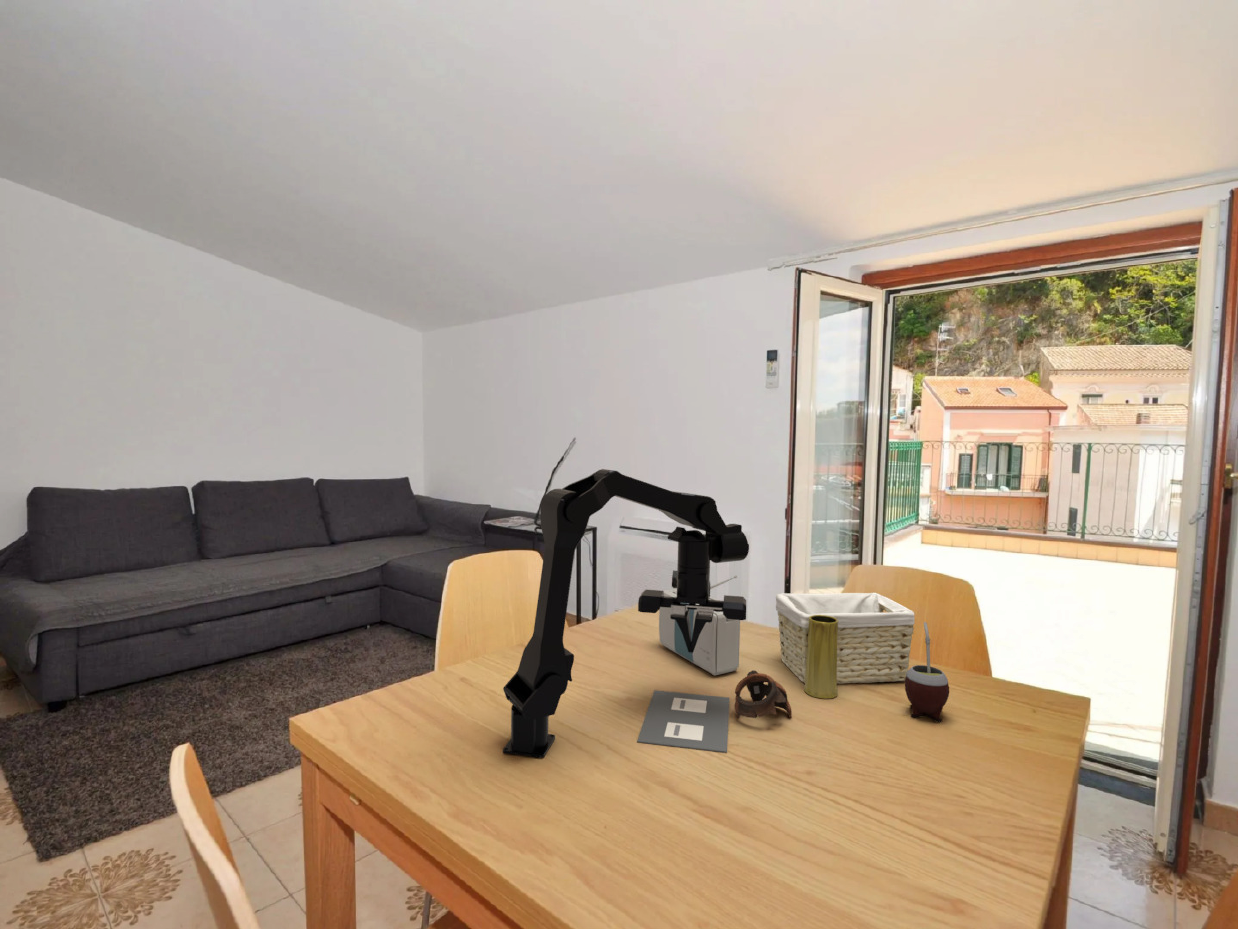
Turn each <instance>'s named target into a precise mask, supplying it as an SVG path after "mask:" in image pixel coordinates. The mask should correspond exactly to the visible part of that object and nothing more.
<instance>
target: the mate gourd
mask: <svg viewBox="0 0 1238 929" xmlns="http://www.w3.org/2000/svg"><path fill="white" fill-rule="evenodd" d="M923 627H924V632H925V638H924V640H925V643H924V644H926V645H925V646H926V649H925V650H926V665H922V664H920V665H919V664H918V665H913V666H912V667H910V668H908V672H907V673H906V678H905V681H904V689H905V690H904V691H905V694H906V697H907V700H908V701H909V703H910V704H909V709H911V711H912V713H910V717H911V718H913V719H917V718H919V719H920V718H923V717H926V718H928V719H930V720H932V721H933V722H936V723H938V724H939V723H942V718H941V715H942V712H943V709H944V706H945V705H946V704H947V702H948V699H949V696H950V686H949V679H948V678H947V675H946V674H945V673H944V671H942V670H941V669H940V668H937V667H935V666H934V667H933V666H931V650H930V647H931V645H930V644H931V638H930V635H929V628H928V623H927V622H926V621H925V622H923Z"/></svg>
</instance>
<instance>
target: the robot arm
mask: <svg viewBox="0 0 1238 929" xmlns="http://www.w3.org/2000/svg"><path fill="white" fill-rule="evenodd" d="M542 496H543V497H542V498H541V501H540V504H539V505H540V506H539V514H540V515H539V516H540V518H539V519H540V528H541V533H542V538H543V540H544V552H543V558H542V559H543V560H542V567H541V574H540V581H539V582H540V583H539V588H538V595H537V596H538V598H537V603H536V610H535V618H534V624H533V625H534V626H533V631H532V632H533V633H532V636H531V638H530V640H529V641H528V642H527V644H526V646H525V647H524V648H523V652H522V656H521V659H520V662H519V664H518V670H517V671H516V672H515V673H514V674H513V676H512V677H511V678H510V679H509V680H508V681H507V683H506V684H505V685H504V686H503V689H502V690H503V692H504V695H505V698H506V700H507V701H508V702H510V703H511V704H512V705H511V709H510V710H511V712H510V720H511V721H510V723H511V724H510V739H509V740H508V742H507V743H506V744H505V745H504V747H503V748H502V753H503V754H508V755H517V756H523V757H533V758H541V759H542V758H544V757H545V756H546V755H547V753H548V751H549V750H550V748H551V746H552V744H553V743H554V741H555V740H556V735H555V734H551V733H549V718H550V717H549V716H554V715H555V714H556V712H557V708H558V705H559V702H560V699H561V696H562V695H564V694H565V692H566V691H567V689H568V684H569V682H572V681H573V677H572V670H573V669H572V668H573V665H574V661H575V654H574V653H572V652H571V651H570V650H568V649H567V648H566V647H565V645H564V634H565V626H566V618H567V611H568V604H569V596H570V590H571V589H570V588H571V582H572V575H573V574H572V573H573V566H574V557H575V554H576V553H575V552H576V549H577V547H578V546H579V544H580V542H581V541H582V539H583V538H584V536H585V534H586V530H587V527H588V524H589V522H590V521H589V520H590V517H591V516H593V515H594V514H596V513H598V512H599V511H600V510H602V509H603V508H604V507H605V505H606V504H607V503H608V502H609V501H611V499H612V498H614V497H616V498H619V499H622V500H626V501H629V502H632V503H636V504H638V505H641V506H645V507H647V508H651V509H653V510H656V511H659V512H661V513H662V514H664V515H665V516H667V517H668V518H669V519H671V520H672V521H674V522H676V523H678V524H680V525H683V526H688V527H691V528H692V530H691V529H690V530H687V529H686V528H685V527H682V526H676V527H675V529H674V530H673V531H671V533H669V534H668V535H667V538H666V539H668V540H669V541H673V542H676V543H677V568H676V569H677V570H672V575H671V576H672V577H671V588H673V589H677V597H665V596H664V591H665V590H657V589H655V590H654V589H645V590H643V591H642V592H641V593H640V596H639V597H638V600H637V602H638V603H637V605H638V606H637V607H638V608H637V611H638V613H639V612H640V613H647V614H648V613H649V614H656V613H657V612H658V611H659V609H660V607H667V608H671V615H670V619H674V620H676V622H677V624H678V626H679V628H680V630H681V632H682V634H683V637H684V640H685V643H686V646H687V649H688V652H689V653H693V652H694V649H695V646H696V643H697V640H698V638H699V635H700V633H701V631H702V629H703V627H704V626H705V624H706V622H712V620H713V613H714V611H718V612H723V615H724V616H725V617H726V618H727V619H732V620H740V621H746V620H747V599H746V598H745V597H744V596H739V595H727V594H725V595H723V600H720V599H718V600H709V598H710V597H711V589H710V587H711V581H710V580H711V579H710V576H711V574H710V572H711V562H712V563H714V564H720V563H730V562H740V561H744V560H745V559H746V558H747V556H748V555H749V552H750V545H749V542H748V538H747V536H746V535H745V533H744V532H743V529H742V528H743V526H742V524H739V523H729V524H726V523H725V521H724V519H723V518H722V516H721V514H720V513H719V511H718V506H717V504H716V500H715V499H714V498H712V497H710V496H707V495H701V494H696V493H695V494H694V493H689V492H681V491H672V490H668V489H666V488H664V487H663V488H662V487H660V486H657V485H655V484H652V483H648V482H645V481H644V480H640V479H637V478H634V477H632V476H628V475H626V474H625V475H624V474H622V473H621V472H619V471H618V470H611V469H604V468H601V469H598V470H597V471H595V472H593V473H592V474H590V475H589V476H586V477H584V478H581V479H579V480H576V481H575V482H571V483H570V484H568V485H566V486H564V487H563V488H554V489H550V490H549V491H548V492H547V493H546V494H544V495H542ZM701 531H705V532H704V534H703V533H702V532H701ZM719 600H720V601H719ZM681 603H689V604H681ZM696 604H699V605H696ZM689 609H693V610H697V614H696V617H695V623H694V629H693V635H692V641H691V630H690V614H689Z"/></svg>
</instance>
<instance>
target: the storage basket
mask: <svg viewBox="0 0 1238 929" xmlns="http://www.w3.org/2000/svg"><path fill="white" fill-rule="evenodd" d="M775 603H776V604H775V610H776V611H777V616H778V630H779V631H778V632H779V642H780V643H779V645H780V658H781V662H783V664H785V666H786V667H787V668H788V669H789V670H790V671H791V673H793V674H794V675H795V676H796V677H797V678H798V679H799V681H801V683H804V684H805V672H806V661H807V649H808V632H809V617H810V616H813V615H827V616H831V617H834V618H836V619H837V620H838V638H837V685H839V684H841V685H842V684H843V685H844V684H851V683H852V684H856V683H862V684H863V683H865V684H870V683H871V684H873V683H878V682H879V683H885V682H893V683H894V682H905V678H906V673H907V672H908V670H909V666H910V665H909V663H910V654H911V647H912V640H913V636H912V635H913V634H914V625H915V622H916V621H915V620H916V619H915V615H916V614H915V612H914V611H913V610H912V609H909V608H908V607H906V606H904V605H902V604H900V603H898V602H896V601H894V600H892V599H891V598H889V597H886V596H885V595H882V594H879V593H877V592H867V593H866V592H838V593H836V592H834V593H830V592H829V593H828V592H827V593H787V592H785V593H783V592H782V593H778V594H776V597H775ZM884 611H885V612H884Z"/></svg>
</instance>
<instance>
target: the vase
mask: <svg viewBox="0 0 1238 929" xmlns="http://www.w3.org/2000/svg"><path fill="white" fill-rule="evenodd" d="M837 638H838V620H837V619H836V618H834V617H831V616H827V615H813V616H810V617H809V632H808V649H807V661H806V672H805V683H804V687H803V691H804V692H805V693H806V694H807V695H809V697H810V696H811V697H813V698H816V699H821V700H822V699H823V700H824V699H825V700H827V699H834V698H836V697H837V696H838V687H837V686H838V683H837Z"/></svg>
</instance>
